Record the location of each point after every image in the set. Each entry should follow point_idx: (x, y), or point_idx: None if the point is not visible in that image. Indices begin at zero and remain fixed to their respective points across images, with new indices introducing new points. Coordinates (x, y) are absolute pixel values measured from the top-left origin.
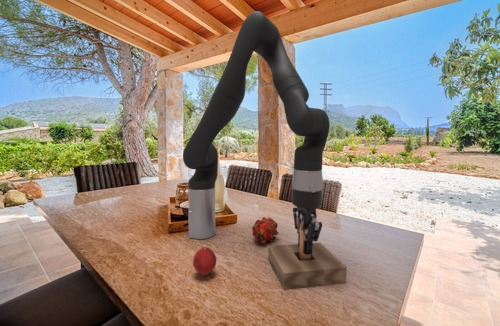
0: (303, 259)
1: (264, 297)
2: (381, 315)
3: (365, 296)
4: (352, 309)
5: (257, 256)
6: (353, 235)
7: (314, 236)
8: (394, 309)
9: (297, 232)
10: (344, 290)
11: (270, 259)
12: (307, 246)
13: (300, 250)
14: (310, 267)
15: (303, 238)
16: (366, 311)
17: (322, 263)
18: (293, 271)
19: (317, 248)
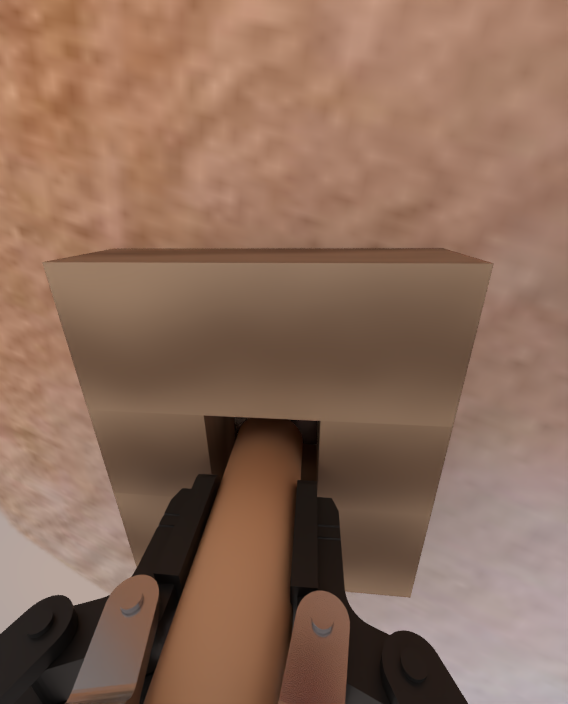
0: (236, 443)
1: (36, 113)
2: (17, 506)
3: (98, 518)
4: (27, 454)
5: (518, 170)
6: (508, 695)
7: (43, 701)
8: (49, 545)
9: (320, 607)
10: None
11: (385, 252)
12: (151, 542)
13: (242, 471)
14: (129, 441)
15: (186, 589)
16: (26, 483)
17: None
18: (75, 334)
19: None
